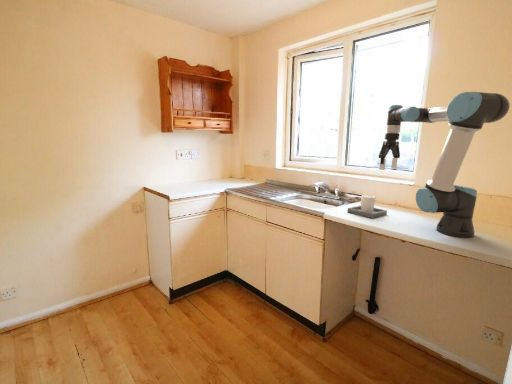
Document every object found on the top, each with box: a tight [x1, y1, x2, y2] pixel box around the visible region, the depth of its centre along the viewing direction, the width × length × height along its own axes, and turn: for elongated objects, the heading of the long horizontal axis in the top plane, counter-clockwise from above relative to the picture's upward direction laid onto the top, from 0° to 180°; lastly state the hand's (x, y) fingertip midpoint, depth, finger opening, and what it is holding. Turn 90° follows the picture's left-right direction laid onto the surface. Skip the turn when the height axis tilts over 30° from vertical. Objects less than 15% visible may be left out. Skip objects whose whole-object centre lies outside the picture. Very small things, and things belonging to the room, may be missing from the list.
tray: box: [347, 204, 388, 219], centre depth 167 cm, size 16×16×2 cm
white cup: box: [360, 194, 377, 214], centre depth 166 cm, size 8×8×10 cm
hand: (388, 169), depth 166 cm, fingers open, 13 cm apart
